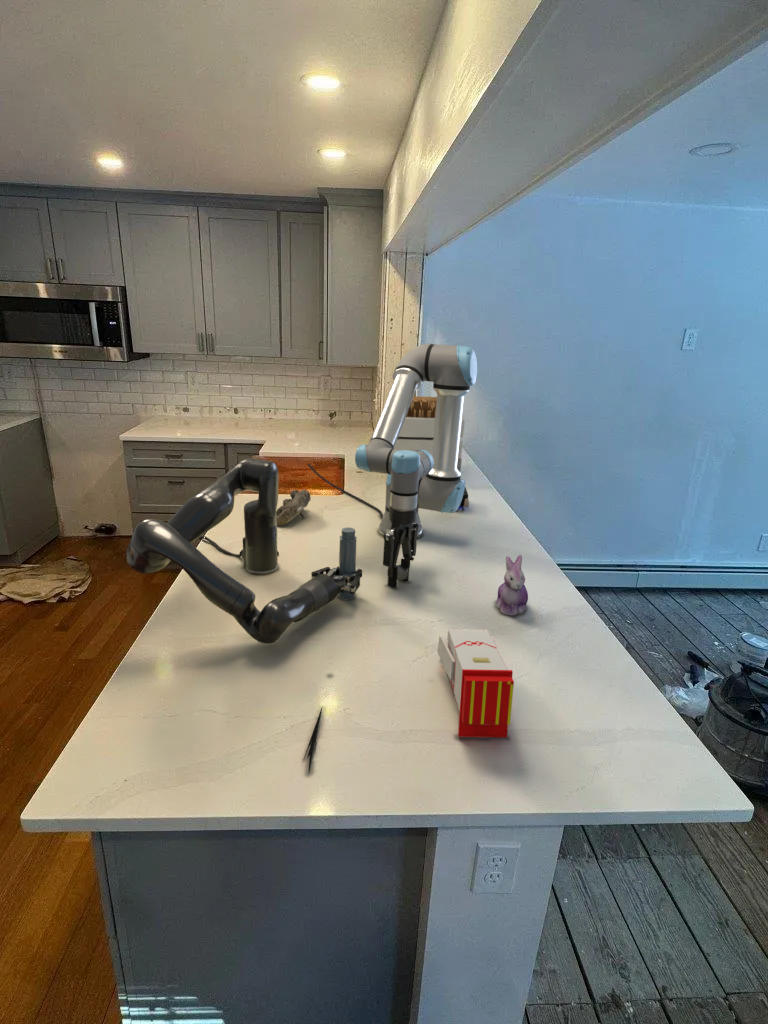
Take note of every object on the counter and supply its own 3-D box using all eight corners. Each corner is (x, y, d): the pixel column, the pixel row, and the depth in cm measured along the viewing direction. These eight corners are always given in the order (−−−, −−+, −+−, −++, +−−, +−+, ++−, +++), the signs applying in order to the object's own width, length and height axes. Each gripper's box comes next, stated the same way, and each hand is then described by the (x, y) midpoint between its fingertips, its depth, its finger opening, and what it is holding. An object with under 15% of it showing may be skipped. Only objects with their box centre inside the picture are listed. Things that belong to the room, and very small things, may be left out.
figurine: (510, 620, 147) (517, 567, 142) (486, 602, 155) (492, 552, 150) (538, 612, 151) (545, 561, 146) (513, 595, 159) (519, 546, 154)
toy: (488, 613, 130) (523, 677, 101) (484, 667, 133) (517, 744, 104) (435, 612, 130) (455, 676, 101) (432, 666, 133) (451, 743, 103)
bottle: (357, 594, 157) (360, 529, 150) (349, 601, 153) (351, 534, 146) (343, 590, 158) (345, 525, 152) (335, 596, 155) (336, 530, 148)
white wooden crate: (382, 463, 289) (386, 382, 275) (445, 464, 293) (451, 384, 279) (390, 482, 257) (394, 392, 243) (460, 483, 261) (468, 394, 247)
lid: (386, 574, 164) (387, 566, 163) (401, 571, 166) (401, 563, 165) (396, 581, 160) (396, 573, 159) (410, 577, 162) (411, 570, 161)
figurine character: (468, 516, 224) (463, 500, 237) (471, 498, 221) (465, 483, 234) (452, 515, 224) (447, 499, 237) (453, 498, 220) (449, 482, 234)
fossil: (279, 495, 220) (308, 475, 215) (295, 514, 223) (324, 494, 218) (263, 521, 201) (295, 499, 196) (281, 540, 203) (313, 519, 198)
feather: (331, 679, 122) (336, 673, 122) (307, 777, 96) (313, 769, 95) (324, 675, 122) (329, 669, 121) (298, 772, 95) (304, 764, 95)
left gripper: (293, 599, 146) (331, 575, 160) (338, 615, 140) (374, 588, 154) (292, 573, 144) (331, 551, 158) (339, 588, 137) (375, 563, 151)
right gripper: (411, 497, 165) (406, 570, 173) (371, 511, 151) (367, 589, 159) (432, 503, 161) (426, 577, 168) (393, 518, 147) (388, 598, 155)
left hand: (352, 569), depth 156 cm, fingers closed on bottle, 4 cm apart
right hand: (398, 583), depth 164 cm, fingers closed on lid, 5 cm apart
